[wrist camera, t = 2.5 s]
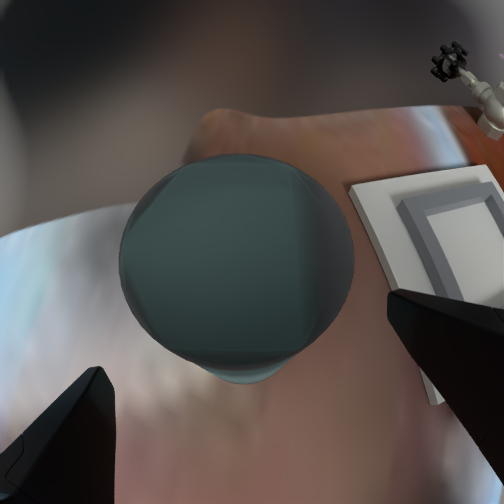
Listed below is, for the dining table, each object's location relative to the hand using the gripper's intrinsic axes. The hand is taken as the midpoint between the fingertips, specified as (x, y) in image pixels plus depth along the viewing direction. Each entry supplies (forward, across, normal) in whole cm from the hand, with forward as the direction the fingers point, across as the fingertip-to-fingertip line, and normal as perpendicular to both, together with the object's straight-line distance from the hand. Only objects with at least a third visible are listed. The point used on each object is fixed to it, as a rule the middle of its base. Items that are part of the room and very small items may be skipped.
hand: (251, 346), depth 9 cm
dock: (+8, -18, +5) cm, 21 cm away
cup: (+8, 0, +5) cm, 10 cm away
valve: (+21, -33, -7) cm, 40 cm away
